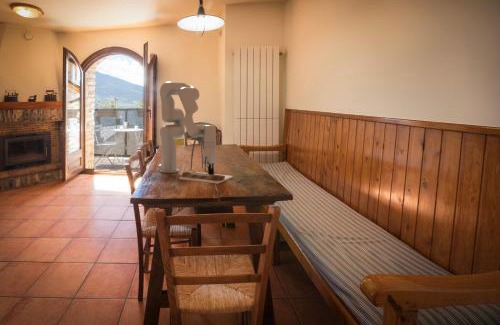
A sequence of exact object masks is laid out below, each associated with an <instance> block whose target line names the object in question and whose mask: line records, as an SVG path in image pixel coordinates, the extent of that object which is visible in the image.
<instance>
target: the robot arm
mask: <svg viewBox="0 0 500 325" xmlns="http://www.w3.org/2000/svg"><path fill="white" fill-rule="evenodd" d="M159 95H160V96H159V97H160V102H161V104H160V105H161V106H160V108H161V119H162V121H163V122H164V123H169V124H165V125H163V126H161V127H160V129H159V136H160V140H161V141H160V142H161V164H158V166H157V168H159V172H160V173H163V174H172V173H173V174H174V173H178V172H179V171H180V169H179V168H177V166H178V165H177V144H176V141H175V139H181V138H183V136H185V130H186V132H187V134H188V135H189V136H190V137H192V138H197V137H202V138H203V143H204V151H203V150H202V151H203V165H205V164H206V169H207V173H208V174H215V169H214V168H215V165H216V163H217V162H218V150H217V129H216V128H217V127H216V125H215V124H204V123H203V124H196V123H195V122H194V117H193V115H194V114H195V113H196V112H198V110H199V106H198V104H197V101H198V99H200V91H199V89H198V88H196V87H195V86H192V85H191V84H188V83H186V82H181V81H166V82H163V83H162V84H161V85H160V88H159ZM173 96H178V97H179V100H180V102H181V105H182V106H183V109H184V111H183V110H182V109H181V108H178V107H175V100H174V98H173ZM184 112H185V113H184ZM172 123H173V124H172Z"/></svg>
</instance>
